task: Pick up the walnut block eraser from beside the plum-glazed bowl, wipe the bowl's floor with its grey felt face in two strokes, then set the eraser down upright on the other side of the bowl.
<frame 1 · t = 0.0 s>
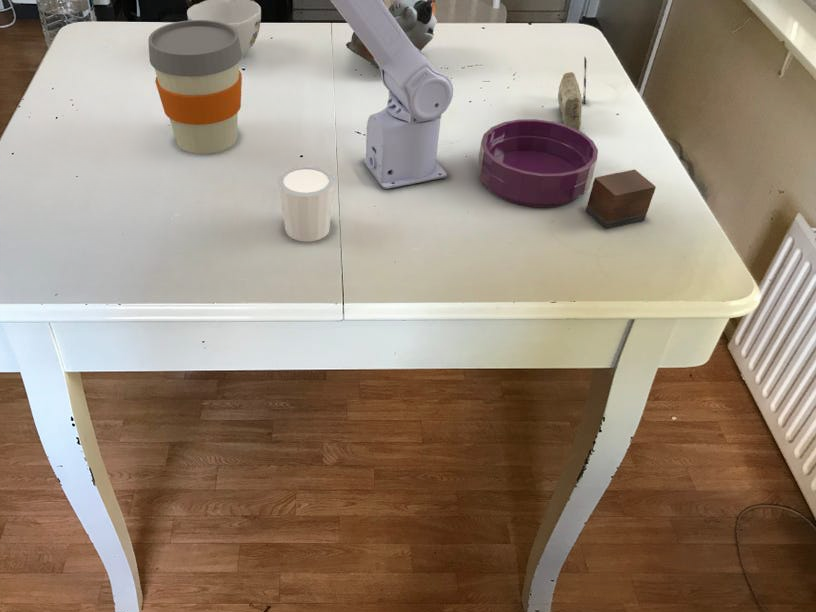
eraser: (614, 215, 97), on the table
reusable coffee cup: (206, 140, 112), on the table
bowl: (532, 179, 104), on the table
cuneiform tablet: (570, 118, 117), on the table
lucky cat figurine: (389, 64, 131), on the table
teacup: (229, 59, 132), on the table
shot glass: (307, 229, 95), on the table
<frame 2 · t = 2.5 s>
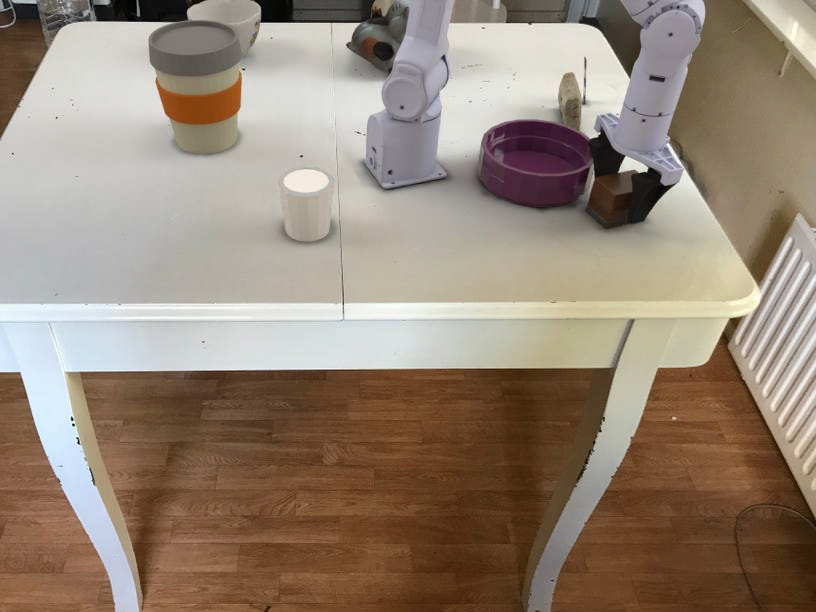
hand: (618, 206, 96), 2 cm above the table, tool pointing down, fingers open, 7 cm apart
bowl: (532, 179, 104), on the table, touching gripper
everything else where it was.
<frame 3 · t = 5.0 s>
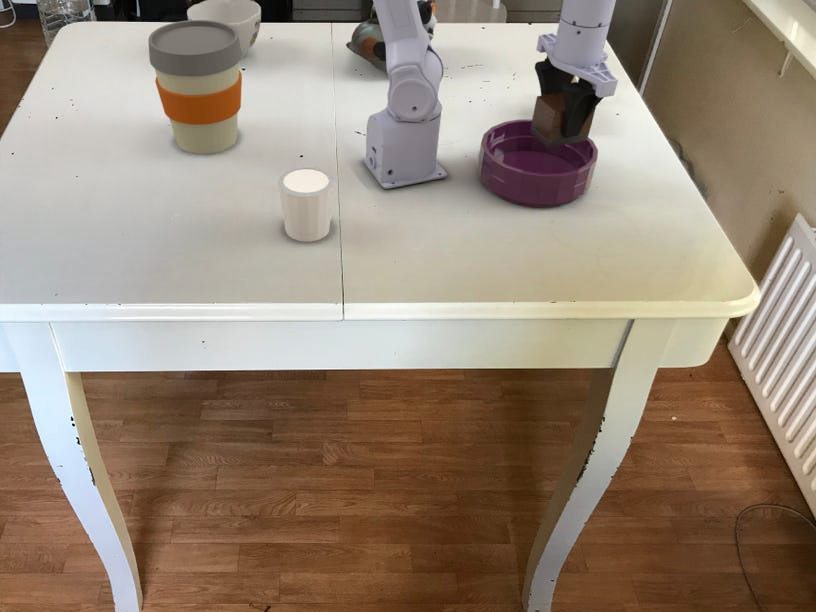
hand: (560, 126, 97), 8 cm above the table, tool pointing down, fingers closed on eraser, 4 cm apart
eraser: (558, 136, 98), point 7 cm above the table, touching gripper
bowl: (532, 179, 104), on the table
everything else where it was.
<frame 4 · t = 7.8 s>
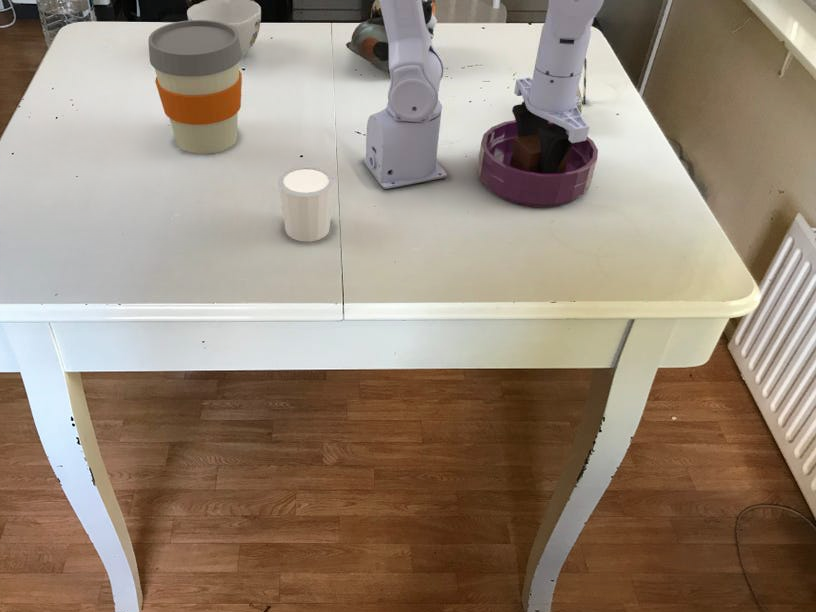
hand: (537, 166, 102), 2 cm above the table, tool pointing down, fingers closed on eraser, 4 cm apart
eraser: (535, 175, 103), point 1 cm above the table, touching gripper
everything else where it was.
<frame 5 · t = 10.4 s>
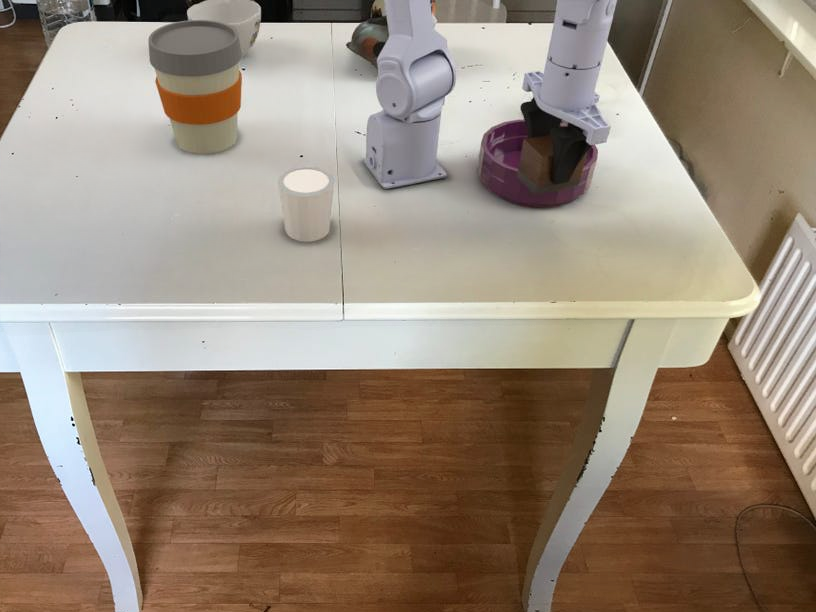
hand: (549, 171, 90), 8 cm above the table, tool pointing down, fingers closed on eraser, 4 cm apart
eraser: (547, 181, 91), point 7 cm above the table, touching gripper
everything else where it was.
when the fingers open (1 cm above the table, at t = 12.5 s): eraser stays where it is, on the table.
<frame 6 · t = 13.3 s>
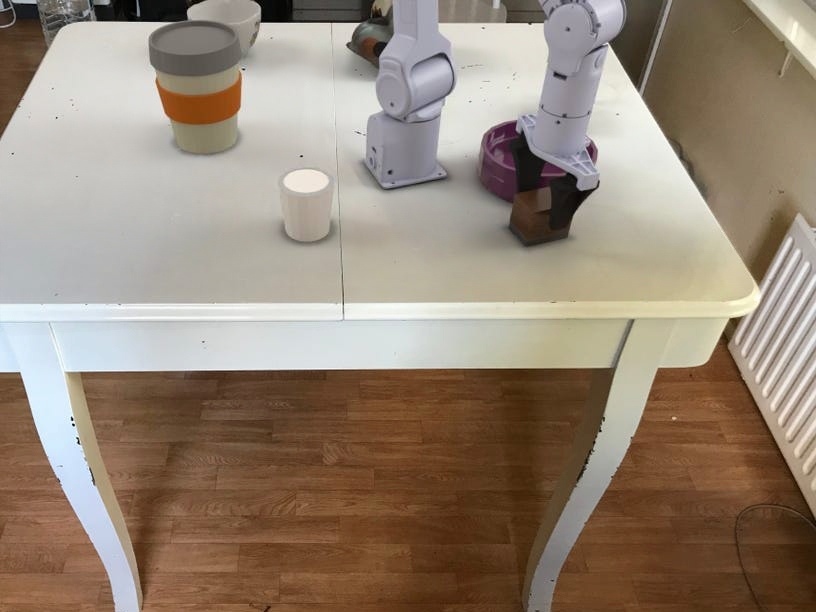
hand: (541, 210, 92), 3 cm above the table, tool pointing down, fingers open, 7 cm apart
eraser: (537, 232, 95), on the table
everything else where it was.
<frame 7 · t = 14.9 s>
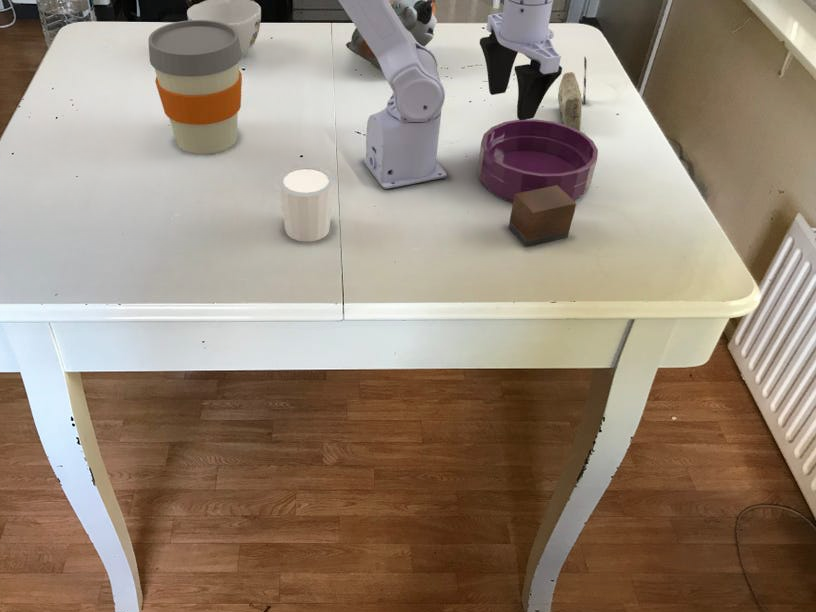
hand: (511, 105, 99), 9 cm above the table, tool pointing down, fingers open, 7 cm apart
nothing on the table moved.
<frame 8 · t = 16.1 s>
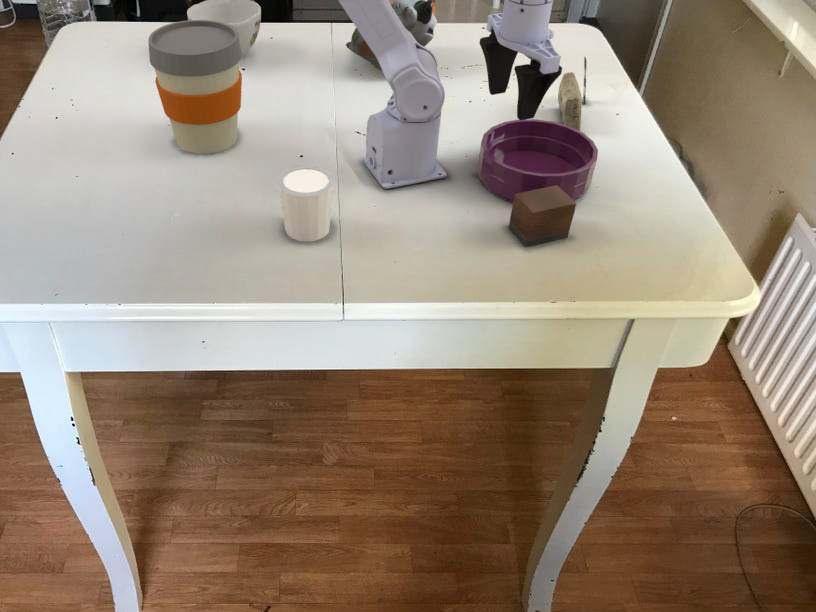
hand: (511, 105, 99), 9 cm above the table, tool pointing down, fingers open, 7 cm apart
nothing on the table moved.
at the end: eraser 0.2 cm from the target spot, on the table; eraser tilted 0°; bowl moved 0.0 cm from its start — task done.
